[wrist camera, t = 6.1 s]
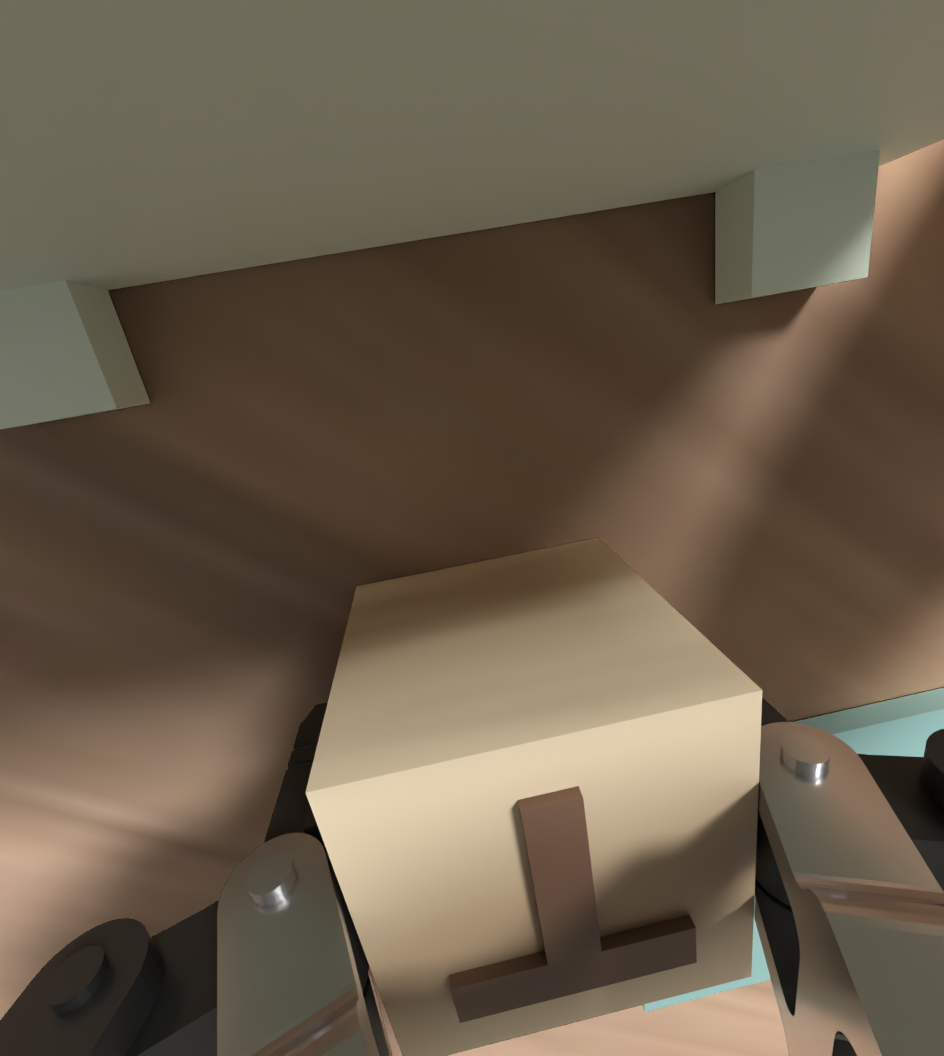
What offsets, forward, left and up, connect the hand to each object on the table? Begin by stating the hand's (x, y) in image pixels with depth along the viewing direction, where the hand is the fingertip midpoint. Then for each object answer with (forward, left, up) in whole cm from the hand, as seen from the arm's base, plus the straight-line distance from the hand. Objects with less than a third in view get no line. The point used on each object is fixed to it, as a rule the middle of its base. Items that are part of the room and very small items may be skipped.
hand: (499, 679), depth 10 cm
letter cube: (0, 0, 0) cm, 0 cm away
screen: (-9, 0, 0) cm, 9 cm away
